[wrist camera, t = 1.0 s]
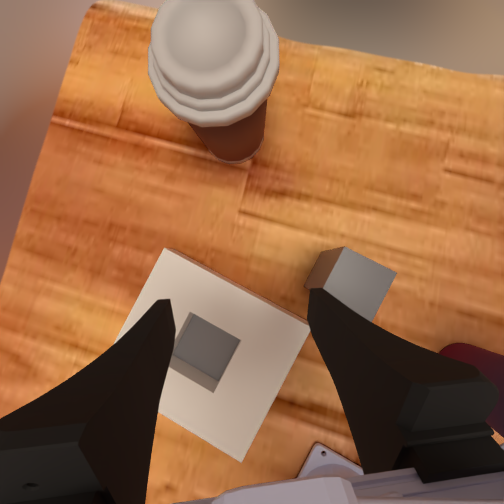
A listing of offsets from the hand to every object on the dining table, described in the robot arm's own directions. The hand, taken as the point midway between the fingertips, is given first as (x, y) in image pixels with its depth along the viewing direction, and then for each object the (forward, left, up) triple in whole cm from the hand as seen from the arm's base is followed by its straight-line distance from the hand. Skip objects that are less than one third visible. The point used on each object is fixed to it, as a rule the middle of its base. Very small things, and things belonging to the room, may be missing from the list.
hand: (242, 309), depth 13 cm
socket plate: (+2, +8, -13) cm, 15 cm away
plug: (-6, -4, -13) cm, 15 cm away
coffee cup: (+10, -13, -13) cm, 21 cm away
